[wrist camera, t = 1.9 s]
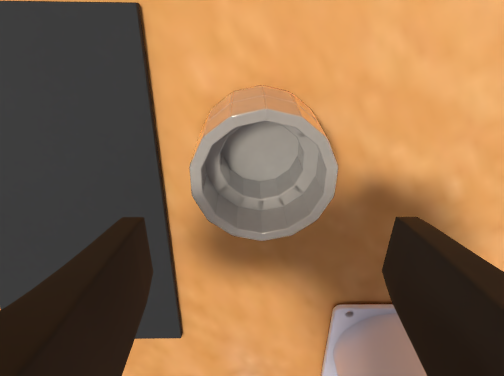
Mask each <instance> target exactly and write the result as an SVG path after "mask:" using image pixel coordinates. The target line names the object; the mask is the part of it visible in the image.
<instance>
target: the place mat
mask: <svg viewBox="0 0 504 376" xmlns="http://www.w3.org/2000/svg"><path fill="white" fill-rule="evenodd" d="M122 217H144V220H145V225H146V231H147V237H148V243H149V249H150V255H151V261H152V266H153V276H152V281H151V286H150V291H149V295H148V300H147V304H146V307H145V310H144V313H143V316H142V319H141V322H140V325H139V328H138V330H137V333H136V336H135V339H138V338H181V336H182V331H181V323H180V315H179V308H178V300H177V292H176V285H175V277H174V270H173V262H172V254H171V247H170V239H169V231H168V224H167V216H166V208H165V201H164V193H163V186H162V178H161V170H160V163H159V155H158V147H157V140H156V132H155V125H154V117H153V109H152V102H151V94H150V86H149V79H148V71H147V63H146V56H145V48H144V41H143V33H142V25H141V18H140V10H139V4H138V3H122V2H49V1H0V308H1V310H2V309H3V308H5V307H6V306H8V305H10V304H11V303H13V302H14V301H16V300H17V299H19V298H20V297H22V296H23V295H24V294H26V293H27V292H29V291H30V290H32V289H33V288H34V287H36V286H37V285H38V284H40V283H41V282H42V281H44V280H45V279H46V278H48V277H49V276H50V275H52V274H53V273H54V272H56V271H57V270H58V269H60V268H61V267H62V266H64V265H65V264H66V263H67V262H69V261H70V260H71V259H72V258H74V257H75V256H76V255H77V254H79V253H80V252H81V251H82V250H83V249H85V248H86V247H87V246H88V245H89V244H91V243H92V242H93V241H94V240H95V239H97V238H98V237H99V236H100V235H101V234H103V233H104V232H105V231H106V230H107V229H108V228H110V227H111V226H112V225H113V224H114V223H116V222H117V221H118V220H119V219H121V218H122Z"/></svg>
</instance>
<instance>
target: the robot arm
mask: <svg viewBox="0 0 504 376" xmlns="http://www.w3.org/2000/svg"><path fill="white" fill-rule="evenodd" d="M382 273H383V276H384V279H385V283H386V286H387V289H388V292H389V295H390V298H391V301H392V303H393V304H341V305H337V306H335V307H334V308H333V312H332V317H331V322H330V328H329V333H328V339H327V344H326V350H325V355H324V361H323V366H322V372H321V376H504V272H503V271H501V270H500V269H498V268H497V267H495V266H493V265H492V264H490V263H489V262H487V261H485V260H484V259H482V258H481V257H479V256H478V255H476V254H475V253H473V252H472V251H470V250H468V249H467V248H465V247H464V246H462V245H461V244H459V243H458V242H456V241H455V240H453V239H452V238H450V237H449V236H447V235H446V234H444V233H443V232H441V231H440V230H438V229H436V228H435V227H433V226H432V225H430V224H429V223H427V222H425V221H424V220H422V219H420V218H418V217H396V219H395V222H394V226H393V230H392V234H391V238H390V241H389V245H388V249H387V253H386V257H385V260H384V264H383V268H382ZM152 276H153V266H152V261H151V255H150V249H149V243H148V237H147V231H146V225H145V220H144V217H122V218H121V219H119V220H118V221H117V222H116V223H114V224H113V225H112V226H111V227H110V228H108V229H107V230H106V231H105V232H104V233H103V234H101V235H100V236H99V237H98V238H97V239H95V240H94V241H93V242H92V243H91V244H89V245H88V246H87V247H86V248H85V249H83V250H82V251H81V252H80V253H79V254H77V255H76V256H75V257H74V258H72V259H71V260H70V261H69V262H67V263H66V264H65V265H64V266H62V267H61V268H60V269H58V270H57V271H56V272H54V273H53V274H52V275H50V276H49V277H48V278H46V279H45V280H44V281H42V282H41V283H40V284H38V285H37V286H36V287H34V288H33V289H32V290H30V291H29V292H27V293H26V294H24V295H23V296H22V297H20V298H19V299H17V300H16V301H14V302H13V303H11V304H10V305H8V306H6V307H5V308H3V309H2V310H0V376H122V373H123V370H124V367H125V365H126V362H127V359H128V356H129V353H130V350H131V347H132V345H133V342H134V339H135V336H136V333H137V330H138V328H139V325H140V322H141V319H142V316H143V313H144V310H145V307H146V304H147V300H148V295H149V291H150V286H151V281H152ZM349 311H350V312H349Z"/></svg>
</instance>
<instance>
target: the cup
mask: <svg viewBox="0 0 504 376" xmlns="http://www.w3.org/2000/svg"><path fill="white" fill-rule="evenodd" d="M337 174H338V164H337V161H336V159H335V156H334V153H333V151H332V148H331V146H330V143H329V140H328V138H327V136H326V135H325V133H324V131H323V129H322V127H321V126H320V124H319V122H318V121H317V119H316V117H315V115H314V113H313V112H312V111H311V109H310V108H309V107H308V106H306V105H305V104H304V103H303V102H302V101H301V100H299V99H298V98H297V97H296V96H295V95H294V94H292V93H290V92H289V91H285V90H280V89H276V88H272V87H268V86H262V85H260V86H255V87H251V88H246V89H242V90H237V91H234V92H232V93H230V94H229V95H228V96H227V97H225V98H224V99H223V100H222V101H220V102H219V103H218V104H217V105H216V106H214V107H213V108H212V109H211V110H210V112H209V114H208V116H207V118H206V120H205V123H204V125H203V127H202V129H201V132H200V134H199V138H198V141H197V144H196V147H195V150H194V154H193V157H192V160H191V163H190V180H191V191H192V196H193V198H194V200H195V201H196V203H197V204H198V206H199V207H200V209H201V211H202V212H203V214H204V215H205V217H206V218H207V220H208V221H210V222H211V223H213V224H215V225H216V226H218V227H219V228H221V229H222V230H224V231H226V232H227V233H229V234H230V235H233V236H236V237H242V238H247V239H253V240H258V241H265V240H271V239H276V238H282V237H287V236H291V235H294V234H295V233H297V232H298V231H300V230H302V229H303V228H305V227H307V226H308V225H310V224H312V223H313V222H315V221H316V220H317V219H318V218H319V217H320V215H321V214H322V212H323V211H324V210H325V208H326V207H327V205H328V204H329V203H330V201H331V200H332V198H333V197H334V194H335V187H336V180H337Z"/></svg>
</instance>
